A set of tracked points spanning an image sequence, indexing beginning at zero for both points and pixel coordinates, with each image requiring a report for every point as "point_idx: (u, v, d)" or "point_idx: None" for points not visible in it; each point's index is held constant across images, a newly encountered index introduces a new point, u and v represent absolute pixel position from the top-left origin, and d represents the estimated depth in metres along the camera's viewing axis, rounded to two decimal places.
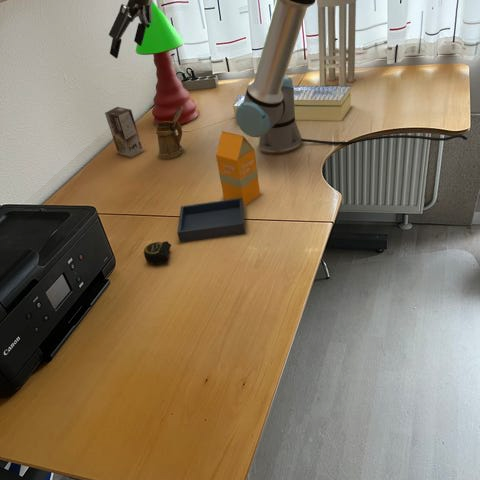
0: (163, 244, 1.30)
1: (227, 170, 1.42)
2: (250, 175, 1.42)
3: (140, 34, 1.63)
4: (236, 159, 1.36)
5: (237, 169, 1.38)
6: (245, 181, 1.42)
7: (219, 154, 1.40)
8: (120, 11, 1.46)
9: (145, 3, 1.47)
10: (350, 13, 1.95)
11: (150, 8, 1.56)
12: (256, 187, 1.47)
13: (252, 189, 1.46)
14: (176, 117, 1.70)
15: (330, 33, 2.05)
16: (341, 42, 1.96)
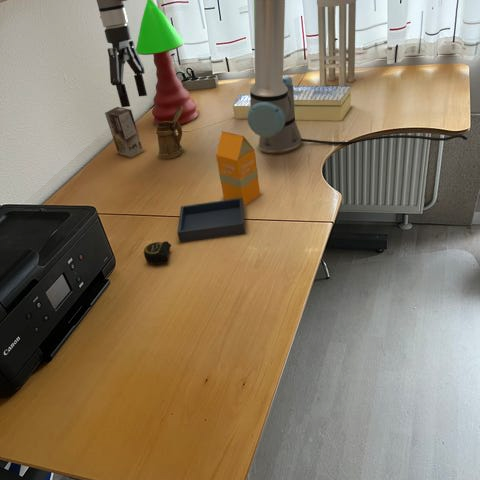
0: (163, 244, 1.30)
1: (227, 170, 1.42)
2: (250, 175, 1.42)
3: (140, 84, 1.61)
4: (236, 159, 1.36)
5: (237, 169, 1.38)
6: (245, 181, 1.42)
7: (219, 154, 1.40)
8: (110, 55, 1.44)
9: (127, 36, 1.45)
10: (350, 13, 1.95)
11: (136, 51, 1.55)
12: (256, 187, 1.47)
13: (252, 189, 1.46)
14: (176, 117, 1.70)
15: (330, 33, 2.05)
16: (341, 42, 1.96)
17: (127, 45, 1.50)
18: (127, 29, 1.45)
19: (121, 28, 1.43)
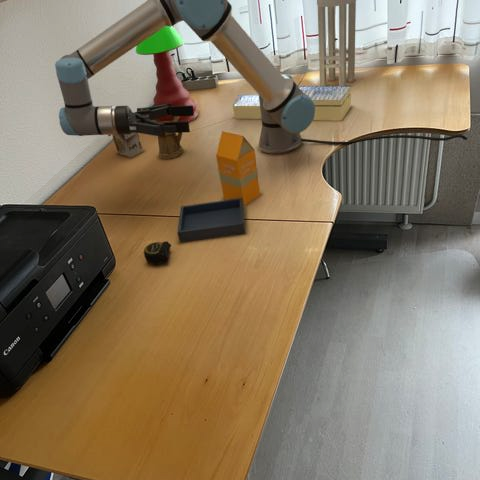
0: (163, 244, 1.30)
1: (227, 170, 1.42)
2: (250, 175, 1.42)
3: (180, 110, 1.40)
4: (236, 159, 1.36)
5: (237, 169, 1.38)
6: (245, 181, 1.42)
7: (219, 154, 1.40)
8: (136, 131, 1.31)
9: (123, 108, 1.33)
10: (350, 13, 1.95)
11: (147, 107, 1.40)
12: (256, 187, 1.47)
13: (252, 189, 1.46)
14: (176, 117, 1.70)
15: (330, 33, 2.05)
16: (341, 42, 1.96)
17: (136, 113, 1.37)
18: (117, 107, 1.33)
19: (115, 112, 1.32)
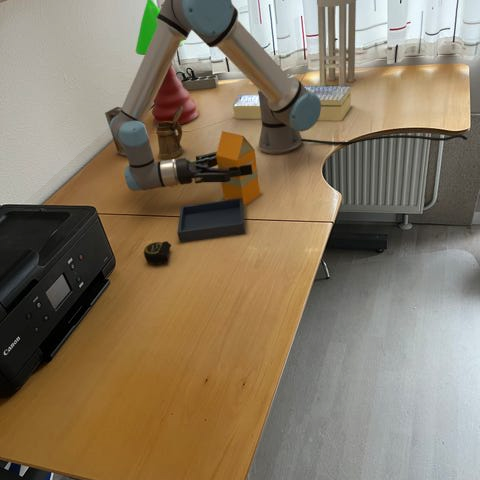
0: (163, 244, 1.30)
1: None
2: (250, 175, 1.42)
3: None
4: (236, 159, 1.36)
5: None
6: (245, 181, 1.42)
7: (219, 154, 1.40)
8: (201, 181, 1.39)
9: (184, 161, 1.41)
10: (350, 13, 1.95)
11: (205, 155, 1.47)
12: (256, 187, 1.47)
13: (252, 189, 1.46)
14: (176, 117, 1.70)
15: (330, 33, 2.05)
16: (341, 42, 1.96)
17: (195, 162, 1.45)
18: (178, 160, 1.41)
19: (176, 166, 1.41)
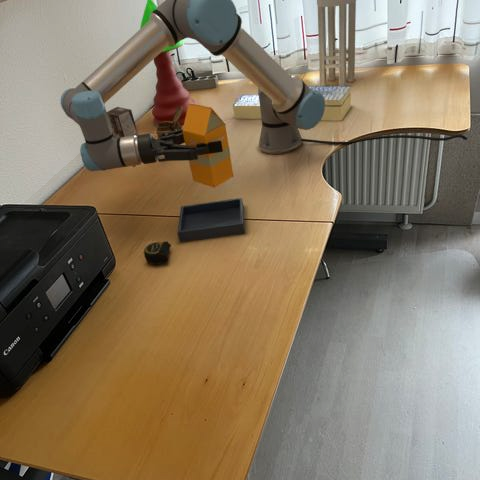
0: (163, 244, 1.30)
1: None
2: (220, 153, 1.27)
3: None
4: (204, 134, 1.21)
5: None
6: (215, 160, 1.27)
7: (186, 129, 1.25)
8: (165, 159, 1.24)
9: (146, 137, 1.25)
10: (350, 13, 1.95)
11: (172, 131, 1.32)
12: (228, 167, 1.32)
13: (223, 169, 1.30)
14: (176, 117, 1.70)
15: (330, 33, 2.05)
16: (341, 42, 1.96)
17: (160, 139, 1.29)
18: (140, 136, 1.26)
19: (138, 142, 1.25)
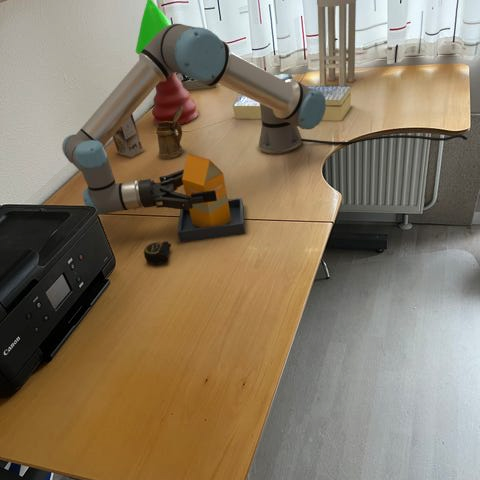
0: (163, 244, 1.30)
1: None
2: (218, 200, 1.32)
3: None
4: (202, 184, 1.26)
5: None
6: (213, 207, 1.32)
7: (185, 178, 1.30)
8: (163, 206, 1.28)
9: (147, 183, 1.30)
10: (350, 13, 1.95)
11: (170, 174, 1.37)
12: (226, 212, 1.37)
13: (222, 214, 1.35)
14: (176, 117, 1.70)
15: (330, 33, 2.04)
16: (341, 42, 1.96)
17: (160, 184, 1.34)
18: (141, 182, 1.31)
19: (139, 188, 1.30)
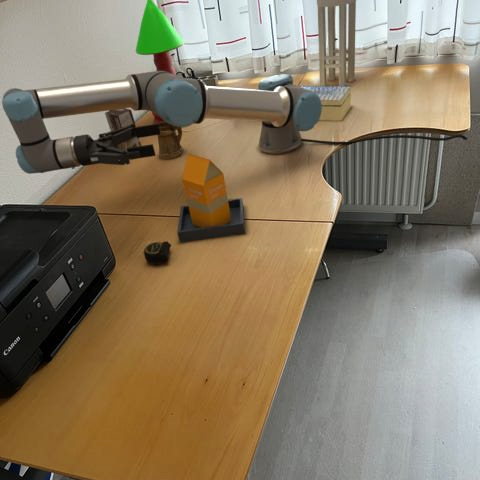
0: (163, 244, 1.30)
1: (194, 195, 1.31)
2: (218, 200, 1.32)
3: (145, 130, 1.29)
4: (202, 184, 1.26)
5: (204, 194, 1.28)
6: (213, 207, 1.32)
7: (185, 178, 1.30)
8: (98, 162, 1.21)
9: (82, 138, 1.23)
10: (350, 13, 1.95)
11: (110, 132, 1.30)
12: (226, 212, 1.37)
13: (222, 214, 1.35)
14: None
15: (330, 33, 2.05)
16: (341, 42, 1.96)
17: (98, 140, 1.27)
18: (76, 137, 1.23)
19: (73, 144, 1.22)
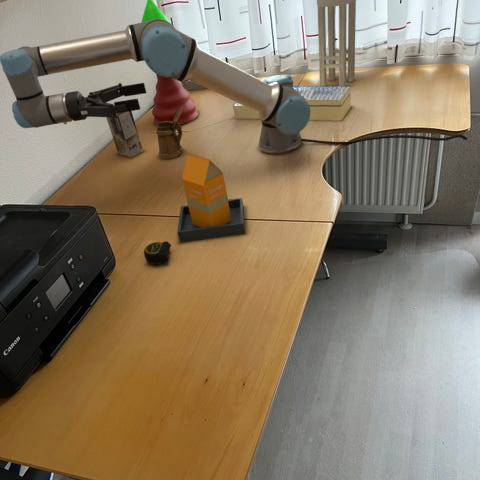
0: (163, 244, 1.30)
1: (194, 195, 1.31)
2: (218, 200, 1.32)
3: (132, 89, 1.40)
4: (202, 184, 1.26)
5: (204, 194, 1.28)
6: (213, 207, 1.32)
7: (185, 178, 1.30)
8: (88, 115, 1.31)
9: (73, 94, 1.33)
10: (350, 13, 1.95)
11: (99, 90, 1.40)
12: (226, 212, 1.37)
13: (222, 214, 1.35)
14: (176, 117, 1.70)
15: (330, 33, 2.05)
16: (341, 42, 1.96)
17: (88, 97, 1.37)
18: (68, 93, 1.34)
19: (65, 99, 1.33)
